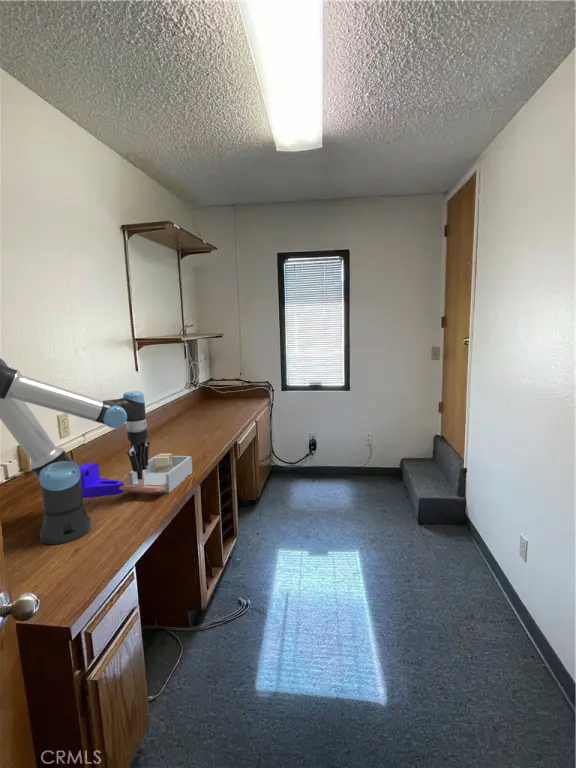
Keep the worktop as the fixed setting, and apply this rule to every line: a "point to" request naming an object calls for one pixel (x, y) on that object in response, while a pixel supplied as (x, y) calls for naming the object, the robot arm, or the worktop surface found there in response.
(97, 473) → the bracket
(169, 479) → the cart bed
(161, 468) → the beige block
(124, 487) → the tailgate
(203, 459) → the worktop surface
